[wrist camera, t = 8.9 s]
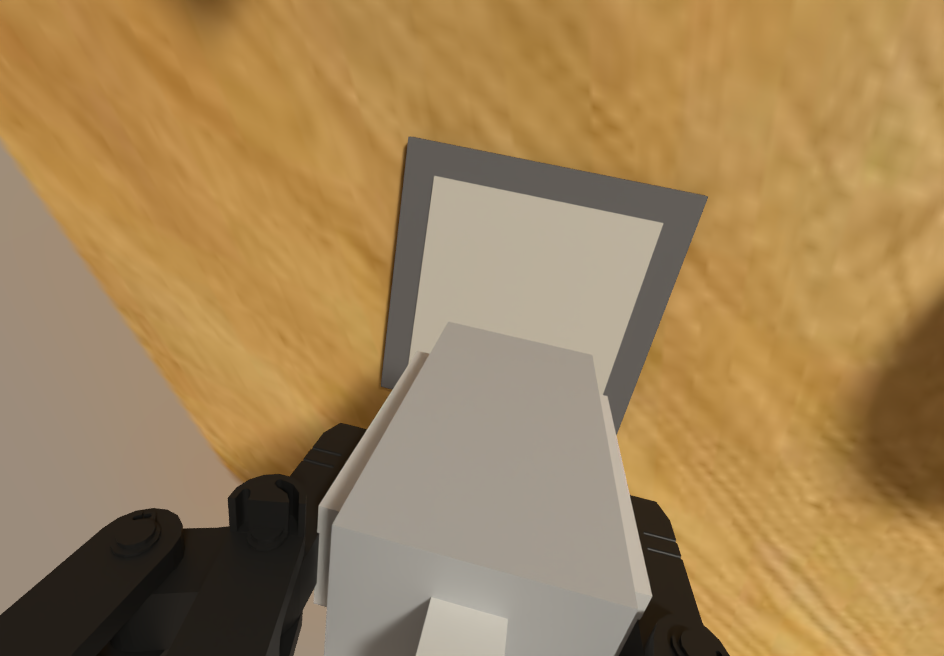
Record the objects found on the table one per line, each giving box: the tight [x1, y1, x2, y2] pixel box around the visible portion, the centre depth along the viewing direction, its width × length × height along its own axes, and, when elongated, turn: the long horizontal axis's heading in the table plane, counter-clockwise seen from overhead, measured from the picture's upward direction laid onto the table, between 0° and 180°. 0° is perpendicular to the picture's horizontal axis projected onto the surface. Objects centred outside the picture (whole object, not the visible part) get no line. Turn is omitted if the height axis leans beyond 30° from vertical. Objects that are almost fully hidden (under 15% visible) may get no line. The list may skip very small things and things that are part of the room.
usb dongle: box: [324, 322, 638, 656], centre depth 10 cm, size 4×4×10 cm
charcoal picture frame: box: [381, 137, 708, 435], centre depth 24 cm, size 14×14×1 cm
